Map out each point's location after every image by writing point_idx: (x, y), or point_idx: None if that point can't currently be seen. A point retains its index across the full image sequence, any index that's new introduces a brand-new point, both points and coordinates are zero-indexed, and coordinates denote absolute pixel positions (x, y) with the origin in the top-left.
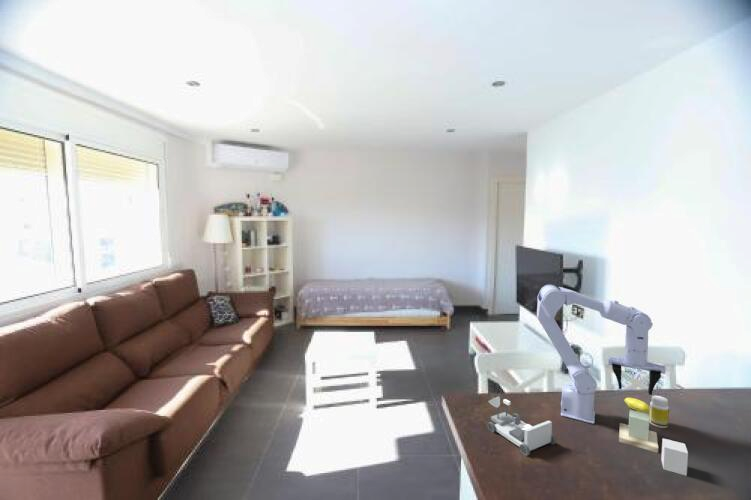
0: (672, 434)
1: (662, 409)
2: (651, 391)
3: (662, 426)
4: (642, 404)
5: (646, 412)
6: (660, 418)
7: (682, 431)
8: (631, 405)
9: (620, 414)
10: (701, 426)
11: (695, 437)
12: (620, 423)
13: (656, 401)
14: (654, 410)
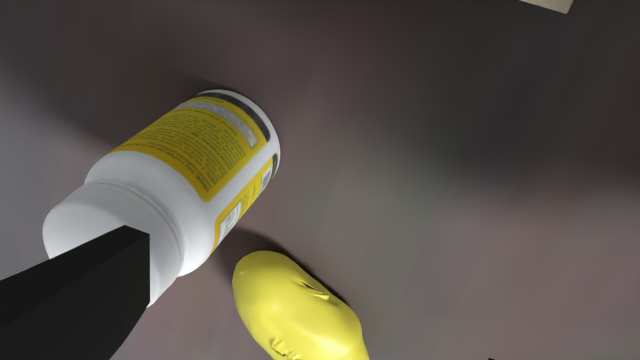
0: (171, 14)
1: (131, 153)
2: (83, 250)
3: (210, 91)
4: (270, 305)
5: (268, 253)
6: (191, 116)
7: (113, 80)
8: (342, 318)
9: (454, 229)
10: (28, 168)
11: (55, 20)
12: (564, 3)
13: (136, 216)
14: (202, 166)
